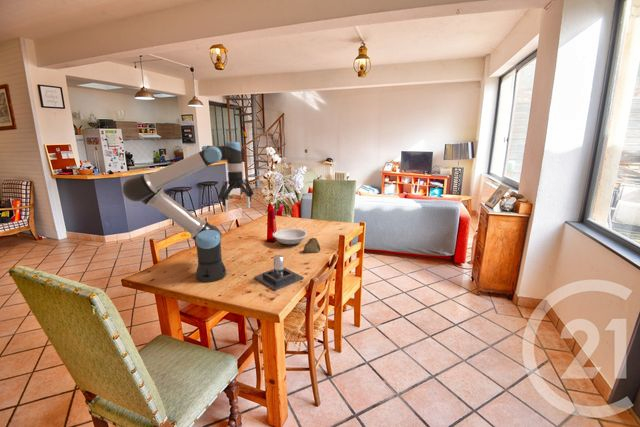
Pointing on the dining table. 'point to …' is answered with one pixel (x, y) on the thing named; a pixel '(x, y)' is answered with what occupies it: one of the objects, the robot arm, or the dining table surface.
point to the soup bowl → (290, 235)
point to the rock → (312, 246)
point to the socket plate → (278, 283)
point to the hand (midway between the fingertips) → (237, 209)
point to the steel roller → (278, 266)
